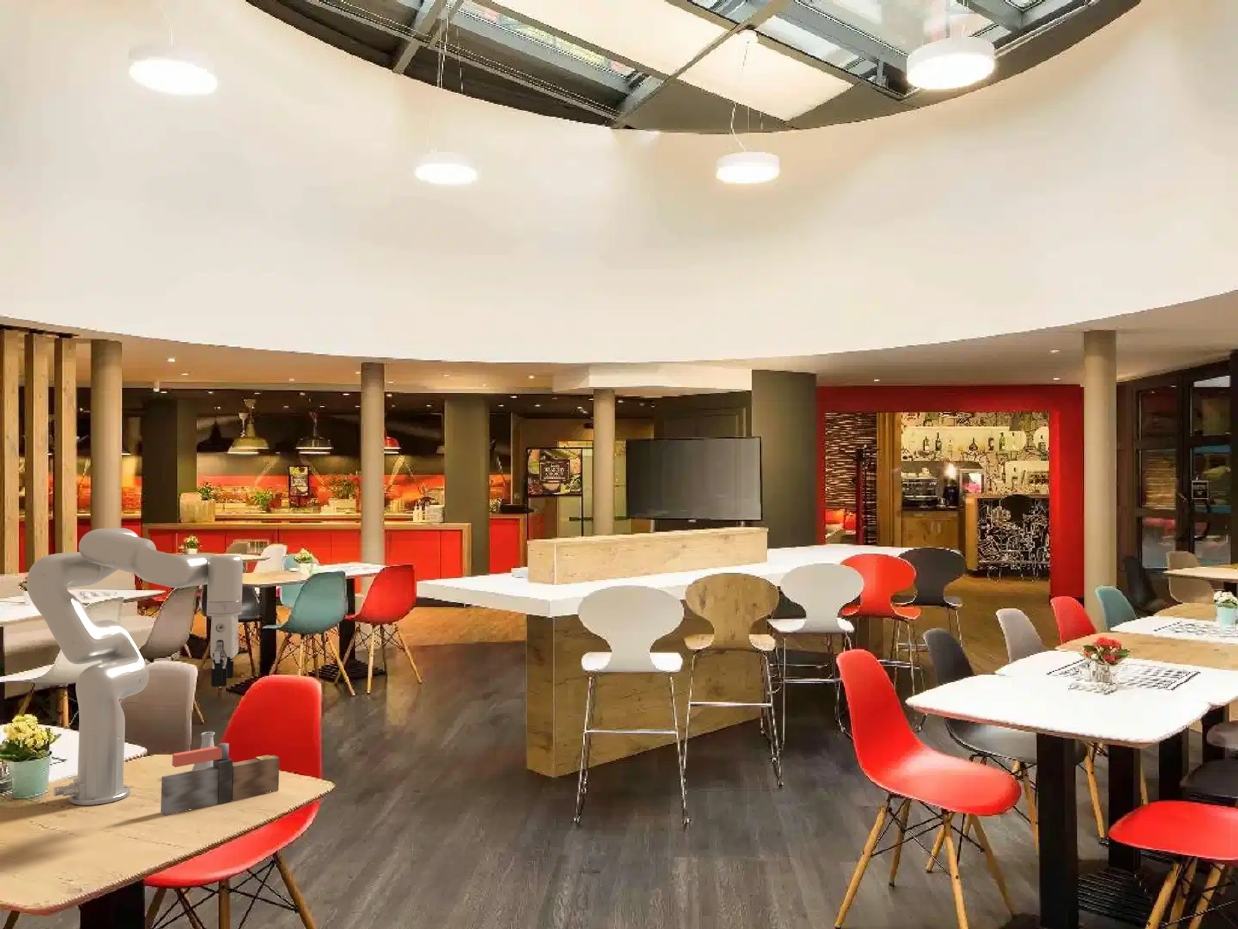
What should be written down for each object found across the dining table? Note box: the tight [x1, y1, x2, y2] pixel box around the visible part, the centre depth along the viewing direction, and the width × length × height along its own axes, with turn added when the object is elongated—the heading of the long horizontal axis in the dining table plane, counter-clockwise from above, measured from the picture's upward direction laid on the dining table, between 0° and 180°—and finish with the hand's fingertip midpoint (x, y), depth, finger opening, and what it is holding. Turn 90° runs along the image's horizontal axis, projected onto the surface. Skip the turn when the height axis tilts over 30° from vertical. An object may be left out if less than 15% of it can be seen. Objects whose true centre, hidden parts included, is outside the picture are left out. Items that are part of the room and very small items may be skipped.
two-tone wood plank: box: [160, 754, 280, 817], centre depth 215 cm, size 26×4×10 cm, turn 134°
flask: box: [191, 731, 216, 771], centre depth 238 cm, size 7×7×10 cm
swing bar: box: [171, 742, 230, 768], centre depth 212 cm, size 12×2×3 cm, turn 134°
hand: (222, 682), depth 213 cm, fingers open, 9 cm apart
